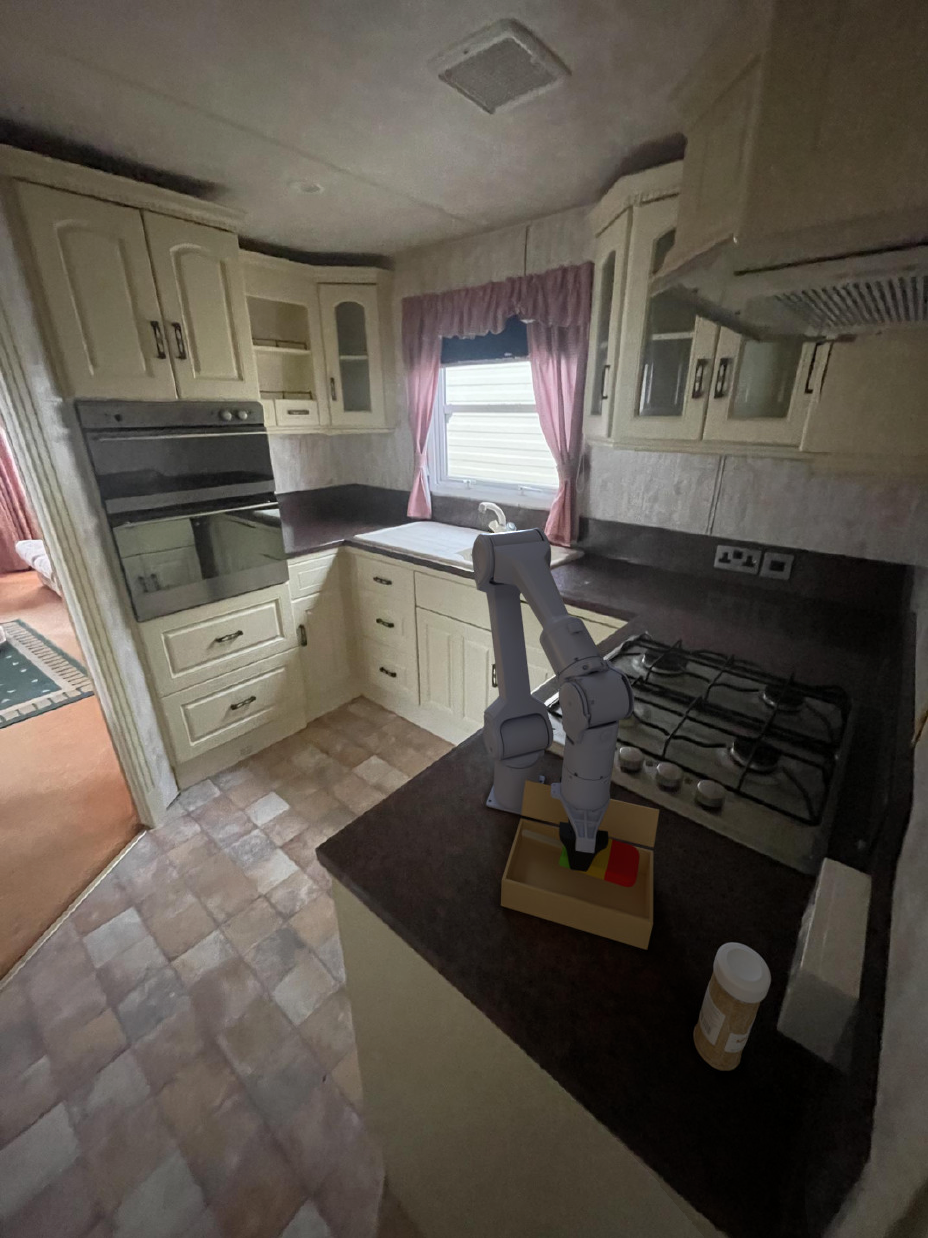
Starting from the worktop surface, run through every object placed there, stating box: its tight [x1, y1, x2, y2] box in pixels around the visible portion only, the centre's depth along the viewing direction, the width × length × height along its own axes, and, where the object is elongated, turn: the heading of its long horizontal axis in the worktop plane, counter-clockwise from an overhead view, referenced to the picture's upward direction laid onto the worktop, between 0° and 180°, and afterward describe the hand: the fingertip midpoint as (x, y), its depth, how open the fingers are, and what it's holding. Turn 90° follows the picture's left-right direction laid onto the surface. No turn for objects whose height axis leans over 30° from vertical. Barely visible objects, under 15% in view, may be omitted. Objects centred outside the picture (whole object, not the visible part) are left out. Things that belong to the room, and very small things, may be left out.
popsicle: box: [522, 830, 640, 887], centre depth 66 cm, size 6×15×2 cm, turn 67°
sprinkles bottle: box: [692, 942, 772, 1072], centre depth 50 cm, size 5×5×14 cm
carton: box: [500, 817, 654, 951], centre depth 68 cm, size 11×18×5 cm, turn 71°
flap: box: [520, 780, 660, 849], centre depth 71 cm, size 5×18×1 cm
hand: (577, 846), depth 66 cm, fingers closed on popsicle, 6 cm apart
